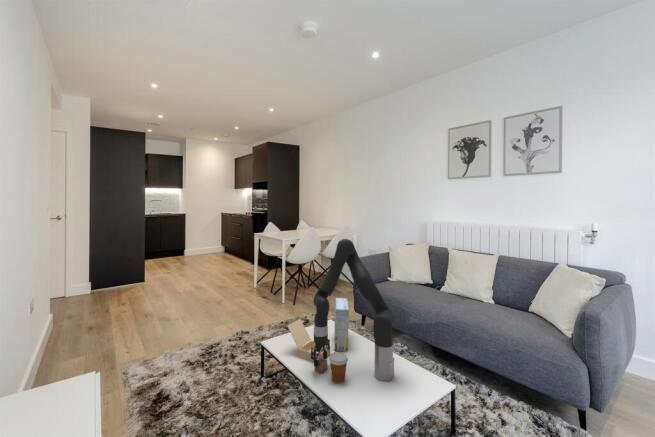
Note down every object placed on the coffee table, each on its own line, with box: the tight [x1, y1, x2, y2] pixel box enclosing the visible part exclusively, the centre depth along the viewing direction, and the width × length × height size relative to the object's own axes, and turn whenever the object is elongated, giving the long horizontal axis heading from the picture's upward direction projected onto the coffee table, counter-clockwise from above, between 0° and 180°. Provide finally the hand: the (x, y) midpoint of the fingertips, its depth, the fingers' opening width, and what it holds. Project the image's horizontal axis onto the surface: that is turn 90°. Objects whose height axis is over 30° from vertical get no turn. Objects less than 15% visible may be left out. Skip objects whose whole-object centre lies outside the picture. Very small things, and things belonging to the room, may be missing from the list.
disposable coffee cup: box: [328, 351, 349, 384], centre depth 153 cm, size 10×10×12 cm
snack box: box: [334, 297, 350, 352], centre depth 191 cm, size 22×9×26 cm, turn 179°
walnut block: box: [313, 358, 328, 375], centre depth 161 cm, size 5×5×5 cm
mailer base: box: [298, 340, 332, 364], centre depth 175 cm, size 14×12×5 cm
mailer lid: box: [286, 318, 312, 349], centre depth 181 cm, size 14×12×1 cm
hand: (320, 362), depth 162 cm, fingers open, 8 cm apart
